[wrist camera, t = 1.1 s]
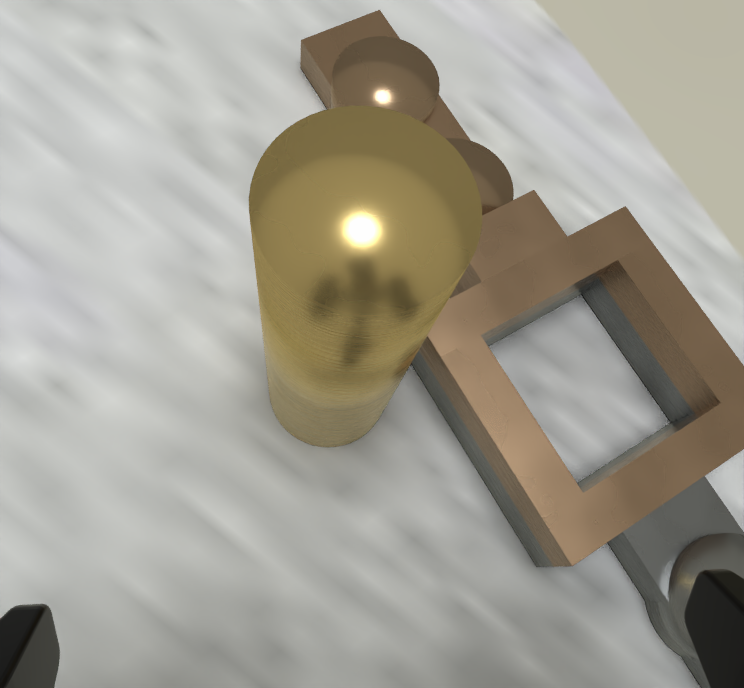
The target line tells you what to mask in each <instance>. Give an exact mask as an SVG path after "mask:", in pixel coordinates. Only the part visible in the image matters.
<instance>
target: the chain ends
mask: <svg viewBox="0 0 744 688" xmlns="http://www.w3.org/2000/svg"><path fill="white" fill-rule="evenodd" d="M300 68H301V69H302V71H303V72H304V74H305V75H306V77H307V78H308V80H309V81H310V83H311V85H312V86H313V88H314V89H315V91H316V92H317V94H318V95H319V97H320V98H321V100H322V102H323V103H324V105H325V106H326V108H327V109H332V108H337V107H345V106H372V107H380V108H385V109H389V110H394V111H397V112H400V113H403V114H406V115H409V116H411V117H413V118H415V119H417V120H419V121H421V122H423V123H425V124H426V125H428V126H429V127H431V128H433V129H434V130H436V131H437V132H438V133H439V134H441V135H442V136H443V137H444V138H446V139H447V140H448V141H449V142H450V143H451V144H452V145H453V146H454V147H455V148H456V150H457V151H458V152H459V154H460V155H461V156H462V157H463V159H464V160H465V162H466V163H467V165H468V167H469V168H470V170H471V172H472V174H473V177H474V179H475V181H476V183H477V187H478V190H479V194H480V198H481V205H482V228H481V234H480V239H479V242H478V245H477V249H476V251H475V253H474V255H473V257H472V259H471V261H470V263H469V265H468V267H467V268H466V270H465V272H464V274H463V275H462V277H461V279H460V280H459V282H458V284H457V285H456V287H455V289H454V291H453V292H452V294H451V296H450V297H449V298H450V299H448V301H447V303H446V304H445V306H444V308H443V309H442V311H441V313H440V315H439V316H438V318H437V320H436V321H435V323H434V325H433V327H432V328H431V330H430V332H429V333H428V335H427V337H426V339H425V340H424V342H423V344H422V345H421V347H420V349H419V351H418V352H417V354H416V356H415V357H414V359H413V361H412V363H411V364H412V365H413V367H414V369H415V370H416V372H417V373H418V375H419V377H420V378H421V380H422V382H423V383H424V385H425V386H426V388H427V390H428V391H429V393H430V395H431V396H432V398H433V399H434V401H435V403H436V404H437V406H438V408H439V409H440V411H441V412H442V414H443V416H444V417H445V419H446V421H447V422H448V424H449V425H450V427H451V429H452V430H453V432H454V433H455V435H456V437H457V438H458V440H459V442H460V443H461V445H462V446H463V448H464V450H465V451H466V453H467V455H468V456H469V458H470V459H471V461H472V463H473V464H474V466H475V468H476V469H477V471H478V472H479V474H480V476H481V477H482V479H483V481H484V482H485V484H486V485H487V487H488V489H489V490H490V492H491V494H492V495H493V497H494V498H495V500H496V502H497V503H498V505H499V507H500V508H501V510H502V511H503V513H504V515H505V516H506V518H507V520H508V521H509V523H510V524H511V526H512V528H513V529H514V531H515V532H516V534H517V536H518V537H519V539H520V541H521V542H522V544H523V545H524V547H525V549H526V550H527V552H528V554H529V555H530V557H531V558H532V560H533V562H534V563H535V565H536V567H556V566H573V565H575V564H576V563H578V562H579V561H581V560H582V559H584V558H585V557H587V556H588V555H589V554H591V553H592V552H594V551H595V550H597V549H598V548H600V547H601V546H603V545H604V544H606V543H607V542H608V544H609V546H610V547H611V549H612V550H613V552H614V553H615V555H616V556H617V558H618V559H619V561H620V563H621V564H622V566H623V567H624V569H625V570H626V572H627V573H628V575H629V576H630V578H631V580H632V581H633V583H634V584H635V586H636V587H637V589H638V590H639V592H640V593H641V595H642V597H643V598H644V600H645V602H646V607H647V611H648V614H649V617H650V619H651V622H652V624H653V626H654V628H655V630H656V631H657V633H658V634H659V636H660V637H661V639H662V640H663V641H664V642H665V643H666V644H667V645H668V646H669V647H670V648H671V649H672V650H673V651H674V652H676V653H677V654H679V655H680V656H681V657H682V658H683V660H684V662H685V663H686V665H687V666H688V668H689V669H690V671H691V672H692V674H693V675H694V677H695V679H696V680H697V682H698V683H699V685H700V686H701V688H710V686H709V684H708V681H707V679H706V676H705V673H704V671H703V668H702V666H701V663H700V661H699V658H698V656H697V653H696V651H695V648H694V646H693V643H692V641H691V638H690V636H689V633H688V631H687V628H686V624H685V619H684V612H685V607H686V604H687V601H688V598H689V595H690V593H691V590H692V587H693V584H694V581H695V578H696V576H697V574H698V573H699V572H701V571H703V570H712V569H727V570H731V571H733V572H734V573H736V574H738V575H739V576H741V577H742V578H744V532H743V531H742V529H741V528H740V526H739V525H738V523H737V522H736V521H735V519H734V518H733V516H732V515H731V513H730V512H729V511H728V509H727V508H726V506H725V505H724V503H723V502H722V501H721V499H720V498H719V496H718V495H717V493H716V492H715V490H714V489H713V488H712V486H711V485H710V483H709V482H708V480H707V479H706V478H705V475H706V474H708V473H709V472H711V471H712V470H714V469H715V468H717V467H718V466H720V465H721V464H723V463H724V462H725V461H727V460H728V459H730V458H731V457H733V456H734V455H736V454H737V453H739V452H740V451H742V450H743V449H744V366H743V364H742V363H741V362H740V360H739V359H738V357H737V356H736V355H735V353H734V352H733V351H732V349H731V348H730V347H729V345H728V344H727V343H726V341H725V340H724V339H723V337H722V336H721V335H720V333H719V332H718V330H717V329H716V328H715V326H714V325H713V324H712V322H711V321H710V320H709V318H708V317H707V316H706V314H705V313H704V312H703V310H702V309H701V308H700V306H699V305H698V303H697V302H696V301H695V299H694V298H693V297H692V295H691V294H690V293H689V291H688V290H687V289H686V287H685V286H684V285H683V283H682V282H681V281H680V279H679V278H678V276H677V275H676V274H675V272H674V271H673V270H672V268H671V267H670V266H669V264H668V263H667V262H666V260H665V259H664V258H663V256H662V255H661V253H660V252H659V251H658V249H657V248H656V247H655V245H654V244H653V243H652V241H651V240H650V239H649V237H648V236H647V235H646V233H645V232H644V231H643V229H642V228H641V226H640V225H639V224H638V222H637V221H636V220H635V218H634V217H633V216H632V214H631V213H630V212H629V210H628V209H627V208H626V206H625V207H623V208H621V209H619V210H617V211H615V212H614V213H612V214H610V215H608V216H606V217H604V218H602V219H600V220H598V221H596V222H595V223H593V224H591V225H589V226H587V227H585V228H583V229H581V230H579V231H577V232H576V233H574V234H572V235H570V236H568V237H567V236H566V234H565V233H564V231H563V230H562V228H561V227H560V226H559V224H558V223H557V221H556V220H555V219H554V217H553V216H552V214H551V213H550V212H549V210H548V209H547V207H546V206H545V204H544V203H543V202H542V200H541V199H540V197H539V196H538V195H537V193H536V192H535V190H533V191H531V192H529V193H527V194H525V195H523V196H521V197H519V198H517V199H515V200H513V184H512V180H511V177H510V174H509V172H508V170H507V169H506V167H505V165H504V164H503V163H502V161H501V160H500V159H499V158H498V157H497V156H496V155H495V154H494V153H493V152H491V151H490V150H489V149H487V148H485V147H484V146H482V145H480V144H478V143H475V142H473V141H471V140H470V139H469V137H468V136H467V135H466V133H465V132H464V130H463V129H462V127H461V126H460V125H459V123H458V122H457V120H456V119H455V117H454V116H453V115H452V113H451V112H450V110H449V109H448V107H447V106H446V104H445V103H444V102H443V100H442V99H441V97H440V96H439V77H438V74H437V71H436V69H435V66H434V65H433V63H432V61H431V60H430V59H429V58H428V56H427V55H426V54H425V53H424V52H422V51H421V50H420V49H419V48H417V47H416V46H414V45H412V44H410V43H408V42H406V41H404V40H401V39H400V38H399V37H398V36H397V34H396V33H395V31H394V30H393V28H392V27H391V26H390V24H389V23H388V21H387V20H386V18H385V17H384V15H383V14H382V13H381V11H380V10H378V11H375V12H373V13H370V14H368V15H365V16H362V17H360V18H357V19H355V20H352V21H349V22H347V23H344V24H342V25H339V26H336V27H334V28H331V29H329V30H326V31H323V32H321V33H318V34H316V35H313V36H311V37H308V38H305V39H303V40H301V67H300ZM581 294H582V296H583V297H584V298H585V300H586V301H587V303H588V304H589V306H590V307H591V308H592V310H593V311H594V313H595V314H596V316H597V317H598V318H599V320H600V321H601V323H602V324H603V326H604V327H605V329H606V330H607V331H608V333H609V334H610V336H611V337H612V339H613V340H614V341H615V343H616V344H617V346H618V347H619V349H620V350H621V351H622V353H623V354H624V356H625V357H626V359H627V360H628V361H629V363H630V364H631V366H632V367H633V369H634V370H635V371H636V373H637V374H638V376H639V377H640V379H641V380H642V381H643V383H644V384H645V386H646V387H647V389H648V390H649V392H650V393H651V394H652V396H653V397H654V399H655V400H656V402H657V403H658V404H659V406H660V407H661V409H662V410H663V412H664V413H665V414H666V416H667V417H668V419H669V420H670V422H671V423H670V424H668V425H667V426H665V427H664V428H662V429H661V430H659V431H658V432H656V433H654V434H653V435H651V436H650V437H648V438H647V439H645V440H644V441H642V442H640V443H639V444H637V445H636V446H634V447H633V448H631V449H630V450H628V451H627V452H625V453H623V454H622V455H620V456H619V457H617V458H616V459H614V460H613V461H611V462H610V463H608V464H606V465H605V466H603V467H602V468H600V469H599V470H597V471H596V472H594V473H593V474H591V475H589V476H588V477H586V478H585V479H583V480H582V481H580V482H579V483H576V481H575V480H574V478H573V477H572V475H571V473H570V472H569V470H568V469H567V467H566V466H565V464H564V463H563V461H562V460H561V458H560V456H559V455H558V453H557V452H556V450H555V449H554V447H553V446H552V444H551V443H550V441H549V440H548V438H547V436H546V435H545V433H544V432H543V430H542V429H541V427H540V426H539V424H538V423H537V421H536V420H535V418H534V416H533V415H532V413H531V412H530V410H529V409H528V407H527V406H526V404H525V403H524V401H523V399H522V398H521V396H520V395H519V393H518V392H517V390H516V389H515V387H514V386H513V384H512V383H511V381H510V379H509V378H508V376H507V375H506V373H505V372H504V370H503V369H502V367H501V366H500V364H499V363H498V361H497V359H496V358H495V356H494V355H493V353H492V352H491V350H490V349H489V347H488V346H490V345H491V344H493V343H495V342H497V341H498V340H500V339H502V338H504V337H506V336H507V335H509V334H511V333H513V332H515V331H516V330H518V329H520V328H522V327H524V326H525V325H527V324H529V323H531V322H533V321H534V320H536V319H538V318H540V317H542V316H543V315H545V314H547V313H549V312H550V311H552V310H554V309H556V308H558V307H559V306H561V305H563V304H565V303H567V302H568V301H570V300H572V299H574V298H576V297H577V296H579V295H581Z"/></svg>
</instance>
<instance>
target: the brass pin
mask: <svg viewBox="0 0 744 688" xmlns="http://www.w3.org/2000/svg"><path fill="white" fill-rule="evenodd" d="M249 214H250V223H251V232H252V241H253V250H254V259H255V268H256V277H257V286H258V295H259V305H260V314H261V323H262V332H263V341H264V350H265V359H266V368H267V377H268V386H269V395H270V401H271V405H272V408H273V411H274V413H275V415H276V417H277V419H278V420H279V422H280V423H281V425H282V426H283V427H284V428H285V429H286V430H287V431H288V432H289V433H290V434H291V435H293V436H294V437H296V438H297V439H299V440H301V441H303V442H305V443H308V444H311V445H315V446H320V447H337V446H342V445H346V444H349V443H351V442H353V441H356V440H358V439H359V438H361V437H362V436H364V435H365V434H366V433H367V432H368V431H370V429H371V428H372V427H373V426H374V425H375V424H376V422H377V421H378V419H379V417H380V416H381V414H382V412H383V411H384V409H385V407H386V405H387V404H388V402H389V400H390V399H391V397H392V395H393V393H394V392H395V390H396V388H397V387H398V385H399V383H400V381H401V380H402V378H403V376H404V375H405V373H406V371H407V369H408V368H409V366H410V364H411V363H412V361H413V359H414V357H415V356H416V354H417V352H418V351H419V349H420V347H421V345H422V344H423V342H424V340H425V339H426V337H427V335H428V333H429V332H430V330H431V328H432V327H433V325H434V323H435V321H436V320H437V318H438V316H439V315H440V313H441V311H442V309H443V308H444V306H445V304H446V303H447V301H448V299H449V297H450V296H451V294H452V292H453V291H454V289H455V287H456V285H457V284H458V282H459V280H460V279H461V277H462V275H463V274H464V272H465V270H466V268H467V267H468V265H469V263H470V261H471V259H472V257H473V255H474V253H475V251H476V249H477V245H478V242H479V239H480V234H481V228H482V205H481V198H480V194H479V190H478V187H477V183H476V181H475V179H474V177H473V174H472V172H471V170H470V168H469V167H468V165H467V163H466V162H465V160H464V159H463V157H462V156H461V155H460V154H459V152H458V151H457V150H456V148H455V147H454V146H453V145H452V144H451V143H450V142H449V141H448V140H447V139H446V138H444V137H443V136H442V135H441V134H439V133H438V132H437V131H436V130H434V129H433V128H431V127H429V126H428V125H426V124H425V123H423V122H421V121H419V120H417V119H415V118H413V117H411V116H409V115H406V114H403V113H400V112H397V111H394V110H389V109H385V108H380V107H372V106H345V107H337V108H332V109H328V110H324V111H321V112H318V113H315V114H312V115H310V116H308V117H306V118H304V119H302V120H300V121H298V122H296V123H295V124H293V125H292V126H290V127H289V128H287V129H286V130H285V131H284V132H282V133H281V134H280V135H279V136H278V137H277V138H276V139H275V140H274V141H273V142H272V143H271V145H270V146H269V147H268V148H267V150H266V151H265V153H264V154H263V156H262V157H261V159H260V161H259V163H258V165H257V167H256V170H255V172H254V175H253V179H252V182H251V187H250V195H249Z"/></svg>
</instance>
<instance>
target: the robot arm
mask: <svg viewBox="0 0 744 688" xmlns="http://www.w3.org/2000/svg"><path fill="white" fill-rule="evenodd" d="M684 619H685V624H686V628H687V631H688V633H689V636H690V638H691V641H692V643H693V646H694V648H695V651H696V653H697V656H698V658H699V661H700V663H701V666H702V668H703V671H704V673H705V676H706V679H707V681H708V684H709V686H710V688H744V578H742V577H741V576H739V575H738V574H736V573H734V572H733V571H731V570H727V569H712V570H703V571H701V572H699V573H698V574H697V576H696V578H695V581H694V584H693V587H692V590H691V593H690V595H689V598H688V601H687V604H686V607H685V612H684ZM59 659H60V649H59V643H58V639H57V634H56V630H55V625H54V621H53V617H52V612H51V610H50V608H49V606H47V605H45V604H32V605H18V606H15V607H13V608H12V609H10V610H9V611H8V612H7V613H6V614H5V615H4V616H3V617H2V618H0V688H54V685H55V681H56V676H57V671H58V666H59Z"/></svg>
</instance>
